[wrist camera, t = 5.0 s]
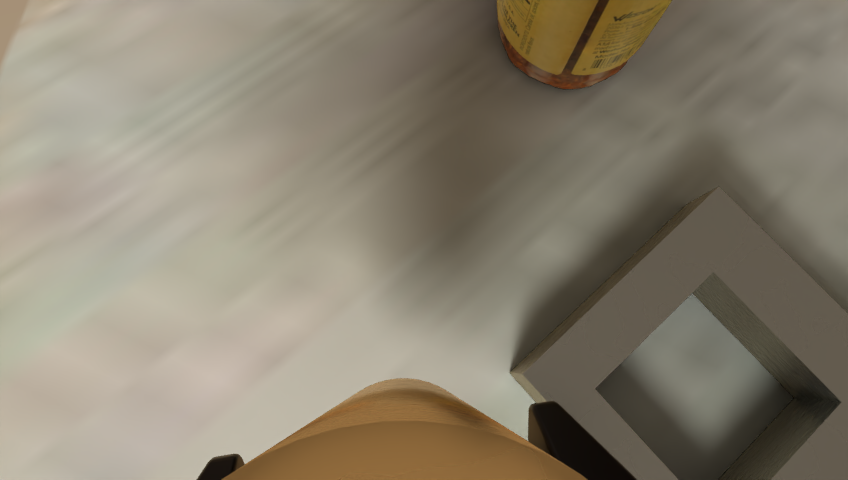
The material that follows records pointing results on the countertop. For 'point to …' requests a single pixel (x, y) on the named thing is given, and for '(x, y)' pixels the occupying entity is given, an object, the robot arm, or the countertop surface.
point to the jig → (739, 312)
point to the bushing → (404, 442)
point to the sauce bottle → (575, 37)
